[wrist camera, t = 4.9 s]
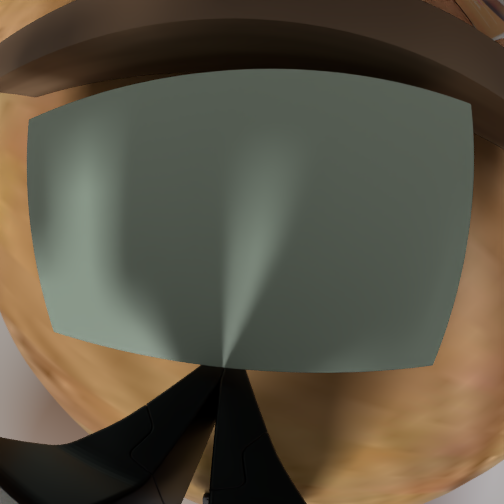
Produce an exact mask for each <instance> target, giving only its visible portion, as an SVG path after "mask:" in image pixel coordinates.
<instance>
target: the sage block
mask: <svg viewBox="0 0 504 504" xmlns="http://www.w3.org/2000/svg"><path fill="white" fill-rule="evenodd" d="M473 179H474V139H473V121H472V110H471V104H469V103H467V102H464V101H461V100H458V99H455V98H452V97H449V96H446V95H443V94H440V93H437V92H433V91H430V90H426V89H423V88H419V87H415V86H411V85H407V84H402V83H398V82H393V81H388V80H383V79H378V78H372V77H366V76H360V75H353V74H345V73H337V72H327V71H315V70H298V69H244V70H226V71H214V72H204V73H196V74H188V75H181V76H174V77H168V78H162V79H157V80H152V81H147V82H142V83H138V84H133V85H129V86H125V87H121V88H117V89H113V90H110V91H106V92H102V93H99V94H96V95H92V96H89V97H86V98H83V99H80V100H77V101H74V102H71V103H69V104H66V105H63V106H61V107H58V108H55V109H53V110H50V111H48V112H46V113H43V114H41V115H39V116H36V117H34V118H32V119H30V120H29V126H28V142H27V188H28V204H29V216H30V225H31V233H32V240H33V247H34V253H35V259H36V264H37V269H38V274H39V279H40V283H41V287H42V291H43V295H44V299H45V303H46V307H47V310H48V314H49V317H50V321H51V324H52V327H53V330H54V332H56V333H59V334H63V335H66V336H69V337H72V338H76V339H79V340H83V341H86V342H90V343H94V344H98V345H102V346H106V347H110V348H114V349H118V350H122V351H127V352H131V353H136V354H141V355H146V356H151V357H156V358H162V359H168V360H173V361H180V362H186V363H193V364H200V365H208V366H216V367H225V368H235V369H246V370H259V371H276V372H305V373H337V372H366V371H382V370H395V369H405V368H415V367H423V366H431V365H433V363H434V360H435V358H436V355H437V353H438V350H439V347H440V345H441V342H442V339H443V336H444V333H445V330H446V327H447V324H448V321H449V318H450V315H451V311H452V308H453V304H454V301H455V297H456V293H457V289H458V285H459V281H460V277H461V272H462V268H463V263H464V258H465V252H466V246H467V240H468V234H469V226H470V218H471V209H472V197H473Z"/></svg>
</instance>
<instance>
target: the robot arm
mask: <svg viewBox="0 0 504 504" xmlns="http://www.w3.org/2000/svg"><path fill="white" fill-rule="evenodd" d="M146 405H147V406H146ZM146 405H144V406H143V407H141V408H140V409H138V410H137V411H135V412H134V413H132V414H130V415H129V416H127V417H125V418H124V419H122V420H120V421H118V422H116V423H114V424H112V425H110V426H108V427H106V428H104V429H102V430H100V431H97V432H95V433H93V434H91V435H88V436H86V437H84V438H82V439H79V440H77V441H74V442H72V443H68V444H63V445H47V444H38V443H31V442H24V441H18V440H12V439H7V438H2V437H0V504H181V503H182V501H183V498H184V496H185V494H186V491H187V489H188V487H189V485H190V482H191V480H192V478H193V475H194V473H195V471H196V468H197V466H198V464H199V461H200V459H201V456H202V454H203V452H204V449H205V447H206V444H207V442H208V440H209V437H210V435H211V432H212V430H213V427H214V425H215V434H214V444H213V455H212V466H211V477H210V489H209V494H204V496H203V504H307V503H306V502H305V501H304V499H303V497H302V496H301V494H300V493H299V491H298V490H297V488H296V487H295V485H294V483H293V482H292V480H291V479H290V477H289V475H288V474H287V472H286V470H285V469H284V467H283V465H282V463H281V461H280V459H279V458H278V456H277V453H276V451H275V449H274V446H273V444H272V442H271V439H270V436H269V434H268V433H267V429H266V426H265V423H264V421H263V418H262V415H261V412H260V410H259V407H258V404H257V401H256V398H255V395H254V393H253V390H252V387H251V384H250V381H249V378H248V375H247V372H246V369H235V368H225V367H216V366H208V365H200V366H199V367H198V368H196V369H195V370H194V371H192V372H191V373H190V374H188V375H187V376H186V377H184V378H183V379H181V380H180V381H179V382H177V383H176V384H174V385H173V386H172V387H170V388H169V389H167V390H166V391H165V392H163V393H162V394H160V395H159V396H157V397H156V398H155V399H153V400H152V401H150V402H149V403H147V404H146ZM215 422H216V424H215Z"/></svg>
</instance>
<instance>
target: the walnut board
mask: <svg viewBox="0 0 504 504" xmlns="http://www.w3.org/2000/svg"><path fill="white" fill-rule="evenodd" d="M244 69H298V70H315V71H327V72H337V73H345V74H353V75H360V76H366V77H372V78H378V79H383V80H388V81H393V82H398V83H402V84H407V85H411V86H415V87H419V88H423V89H426V90H430V91H433V92H437V93H440V94H443V95H446V96H449V97H452V98H455V99H458V100H461V101H464V102H467V103H469V104H471V110H472V121H473V133H475V134H477V135H479V136H481V137H483V138H485V139H487V140H488V141H490V142H492V143H494V144H496V145H497V146H499V147H501V148H503V149H504V47H502V46H501V45H500V44H498V43H497V42H495V41H494V40H493V39H491V38H490V37H488V36H487V35H485V34H483V33H482V32H480V31H479V30H477V29H476V28H474V27H472V26H471V25H469V24H467V23H465V22H464V21H462V20H460V19H458V18H457V17H455V16H453V15H451V14H449V13H447V12H445V11H443V10H441V9H439V8H437V7H435V6H433V5H431V4H428V3H426V2H424V1H422V0H76V1H73V2H71V3H69V4H67V5H65V6H62V7H60V8H58V9H56V10H54V11H52V12H50V13H48V14H46V15H45V16H43V17H41V18H39V19H37V20H35V21H34V22H32V23H30V24H29V25H27V26H25V27H24V28H22V29H20V30H19V31H17V32H16V33H14V34H12V35H11V36H9V37H8V38H7V39H5V40H4V41H2V42H1V43H0V92H1V93H9V94H17V95H24V96H31V97H39V96H42V95H45V94H49V93H52V92H56V91H59V90H63V89H67V88H71V87H76V86H80V85H85V84H89V83H94V82H100V81H105V80H111V79H118V78H125V77H133V76H141V75H151V74H164V73H182V72H214V71H226V70H244Z"/></svg>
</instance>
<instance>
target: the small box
mask: <svg viewBox="0 0 504 504" xmlns="http://www.w3.org/2000/svg"><path fill="white" fill-rule="evenodd" d="M455 1H456V2H457V4H458V5H459V6H460V7H461V9H462V10H463V11H464V13H465V14H466V15H467V17H468V18H469V19H470V21H471V22H472V24H473V26H474V27H475V28H476V29H477V30H479V31H480V32H482V33H483V34H485V35H487V36H488V37H490V38H491V39H493V40H498V39H502V38H504V0H455Z"/></svg>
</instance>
